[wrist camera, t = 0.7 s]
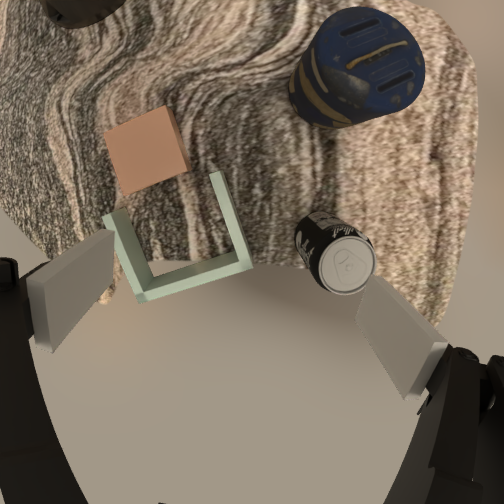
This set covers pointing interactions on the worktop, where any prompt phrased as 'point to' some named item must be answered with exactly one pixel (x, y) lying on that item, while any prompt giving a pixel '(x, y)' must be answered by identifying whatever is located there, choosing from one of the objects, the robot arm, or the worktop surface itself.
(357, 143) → the worktop surface
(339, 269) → the beverage can
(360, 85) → the canister
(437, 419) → the robot arm
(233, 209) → the green u-shaped bracket
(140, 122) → the orange block
